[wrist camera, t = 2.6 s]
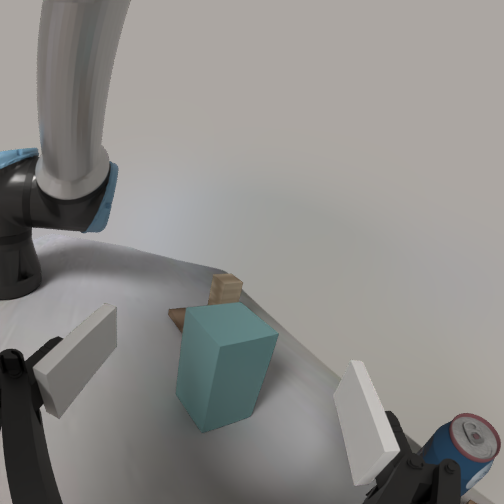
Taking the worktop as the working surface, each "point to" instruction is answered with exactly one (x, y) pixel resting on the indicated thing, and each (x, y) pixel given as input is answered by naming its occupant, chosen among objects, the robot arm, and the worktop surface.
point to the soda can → (464, 447)
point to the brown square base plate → (213, 296)
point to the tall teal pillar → (222, 363)
